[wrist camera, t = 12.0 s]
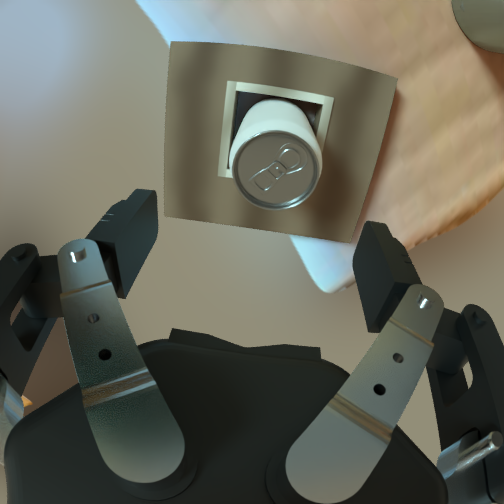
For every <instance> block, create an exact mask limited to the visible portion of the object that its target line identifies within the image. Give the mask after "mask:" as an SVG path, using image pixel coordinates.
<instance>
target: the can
mask: <svg viewBox="0 0 504 504" xmlns="http://www.w3.org/2000/svg"><path fill="white" fill-rule="evenodd" d="M229 167H230V172H231V175H232V178H233V181H234V183H235V186H236V188H237V190H238V191H239V193H240V194H241V195H242V196H243V197H244V198H245V199H246V200H247V201H248V202H250V203H251V204H253V205H255V206H257V207H259V208H262V209H266V210H273V211H279V210H286V209H290V208H293V207H295V206H298V205H299V204H301V203H303V202H304V201H305V200H306V199H307V198H308V197H309V196H310V195H311V194H312V193H313V191H314V190H315V188H316V185H317V183H318V180H319V177H320V175H321V171H322V154H321V150H320V147H319V144H318V142H317V139H316V137H315V135H314V132H313V130H312V128H311V126H310V124H309V121H308V119H307V117H306V115H305V114H304V112H303V111H302V110H301V109H300V108H299V107H298V106H297V105H295V104H294V103H292V102H290V101H288V100H286V99H282V98H268V99H264V100H262V101H260V102H258V103H256V104H255V105H253V106H252V107H251V108H250V109H249V111H248V112H247V114H246V115H245V117H244V119H243V121H242V123H241V126H240V128H239V130H238V132H237V135H236V137H235V139H234V142H233V144H232V147H231V151H230V156H229Z"/></svg>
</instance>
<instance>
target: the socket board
mask: <svg viewBox="0 0 504 504" xmlns="http://www.w3.org/2000/svg"><path fill="white" fill-rule="evenodd" d="M397 80H398V78H395V77H392V76H389V75H386V74H382V73H379V72H376V71H372V70H369V69H366V68H362V67H358V66H355V65H351V64H347V63H343V62H339V61H335V60H330V59H326V58H321V57H317V56H312V55H307V54H302V53H296V52H290V51H284V50H278V49H271V48H264V47H256V46H247V45H237V44H225V43H210V42H177V41H171V45H170V56H169V67H168V81H167V96H166V115H165V116H166V117H165V143H164V215H165V217H173V218H181V219H188V220H196V221H203V222H210V223H217V224H224V225H232V226H239V227H246V228H253V229H259V230H266V231H273V232H280V233H286V234H293V235H299V236H306V237H312V238H319V239H325V240H331V241H338V242H344V243H350V242H351V239H352V236H353V233H354V230H355V227H356V224H357V221H358V218H359V215H360V212H361V209H362V206H363V203H364V200H365V197H366V194H367V191H368V188H369V184H370V181H371V178H372V175H373V171H374V168H375V165H376V161H377V158H378V154H379V151H380V147H381V144H382V140H383V136H384V133H385V129H386V125H387V121H388V118H389V114H390V110H391V106H392V102H393V97H394V93H395V89H396V85H397ZM239 91H244V92H252V93H260V94H267V95H274V96H280V97H286V98H292V99H298V100H303V101H308V102H313V103H318V105H317V110H316V115H315V120H314V125H313V132H314V135H315V137H316V139H317V142H318V144H319V147H320V150H321V154H322V171H321V175H320V177H319V180H318V183H317V185H316V188H315V190H314V191H313V193H312V194H311V195H310V196H309V197H308V198H307V199H306V200H305V201H304V202H303V203H301V204H299V205H298V206H295V207H293V208H290V209H286V210H279V211H273V210H266V209H262V208H259V207H257V206H255V205H253V204H251V203H250V202H248V201H247V200H246V199H245V198H244V197H243V196H242V195H241V194H240V193H239V191H238V190H237V188H236V186H235V183H234V181H233V178H232V175H231V172H230V167H229V156H230V151H231V147H232V144H233V136H234V128H235V119H236V111H237V103H238V95H239Z"/></svg>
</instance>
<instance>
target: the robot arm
mask: <svg viewBox="0 0 504 504" xmlns="http://www.w3.org/2000/svg"><path fill="white" fill-rule="evenodd" d="M452 7H453V11H454V14H455V17H456V20H457V22H458V24H459V26H460V27H461V29H462V30H463V32H464V33H465V35H466V36H467V37H468V38H469V39H470V40H471V41H472V42H473V43H475V44H476V45H477V46H479V47H480V48H482V49H484V50H487V51H491V52H497V53H502V54H504V0H452ZM157 234H158V211H157V195H156V192H155V190H145V189H136V190H135V191H134V192H133V193H132V194H131V195H130V196H129V197H128V199H127V200H121V201H120V202H118V203H116V204H114V205H113V206H112V207H111V208H110V209H109V210H108V211H107V212H106V215H104V216H103V217H102V218H101V221H99V222H98V223H97V224H96V225H95V227H94V228H93V229H92V230H91V231H90V233H89V234H88V235H87V237H86V238H85V239H76V240H73V241H70V242H68V243H66V244H65V245H64V246H63V247H61V248H60V250H59V252H58V254H57V255H49V256H39V253H38V250H37V248H36V246H35V245H33V244H29V243H25V244H20V245H17V246H15V247H13V248H11V249H10V250H9V251H8V252H7V253H6V254H5V255H4V256H3V257H2V259H1V260H0V464H1V465H3V466H4V468H5V474H6V482H7V504H504V345H503V343H502V341H501V339H500V336H499V334H498V331H497V329H496V327H495V325H494V322H493V320H492V318H491V317H490V315H489V314H488V313H487V312H486V311H485V310H484V309H482V308H481V307H479V306H477V305H474V304H468V305H467V306H465V307H464V309H463V311H462V312H461V314H460V313H457V312H454V311H452V310H449V309H446V308H444V303H443V300H442V299H441V297H440V296H439V294H438V293H437V292H435V291H434V290H433V289H431V288H429V287H428V286H425V285H423V284H422V282H421V280H420V278H419V276H418V274H417V272H416V269H415V267H414V265H413V264H412V261H411V259H410V257H408V256H409V255H408V253H407V251H406V249H405V247H404V246H403V245H402V244H401V243H400V242H399V241H398V240H397V239H396V238H393V237H392V235H391V233H390V231H389V229H388V227H387V225H386V224H384V223H379V222H374V221H366V223H365V224H364V227H363V230H362V233H361V236H360V238H359V241H358V244H357V247H356V250H355V253H354V256H353V271H354V275H355V279H356V283H357V286H358V291H359V295H360V299H361V302H362V307H363V311H364V315H365V320H366V324H367V329H368V332H371V333H380V334H379V335H378V337H377V338H376V340H375V341H374V343H373V344H372V346H371V347H370V349H369V350H368V351H367V353H366V354H365V356H364V357H363V359H362V360H361V361H360V363H359V364H358V366H357V367H356V368H355V370H354V371H353V372H352V374H351V375H350V374H349V373H348V372H346V371H345V370H344V369H342V368H341V367H339V366H337V365H335V364H333V363H331V362H329V361H326V360H324V359H321V352H320V347H308V346H298V345H288V344H282V345H272V346H261V347H248V348H247V347H242V346H239V345H236V344H233V343H231V342H228V341H225V340H222V339H219V338H217V337H214V336H211V335H209V334H204V333H197V332H192V331H186V330H180V329H174V328H172V330H171V333H170V336H169V339H160V340H154V341H150V342H146V343H143V344H140V345H138V346H137V345H136V342H135V340H134V338H133V335H132V333H131V331H130V328H129V326H128V323H127V321H126V319H125V316H124V314H123V311H122V309H121V306H120V303H119V301H118V298H122V299H126V297H127V295H128V292H129V291H130V289H131V287H132V285H133V283H134V281H135V279H136V277H137V275H138V273H139V271H140V269H141V267H142V265H143V264H144V262H145V260H146V258H147V256H148V254H149V252H150V250H151V249H152V247H153V245H154V243H155V241H156V238H157ZM18 301H20V303H21V306H22V309H21V310H20V312H19V314H18V315H17V317H16V319H15V320H14V322H13V324H12V326H11V325H10V317H11V313H12V311H13V310H14V308H15V306H16V304H17V303H18ZM58 317H63V318H64V323H65V328H66V333H67V337H68V342H69V346H70V350H71V355H72V358H73V362H74V366H75V370H76V373H77V377H78V381H79V383H77V384H76V385H74V386H72V387H71V388H69V389H68V390H66V391H65V392H63V393H62V394H60V395H58V396H57V397H55V398H54V399H52V400H50V401H49V402H48V403H46V404H44V405H42V406H41V407H39V408H38V409H36V410H35V411H33V412H31V413H30V414H28V415H27V416H25V417H24V416H23V412H24V405H23V401H22V398H21V396H22V393H23V391H24V389H25V386H26V384H27V382H28V379H29V377H30V374H31V372H32V370H33V368H34V366H35V363H36V361H37V359H38V357H39V354H40V352H41V350H42V348H43V346H44V344H45V342H46V340H47V338H48V336H49V334H50V332H51V330H52V328H53V326H54V324H55V322H56V320H57V318H58ZM468 361H469V364H470V367H471V370H472V374H473V381H472V385H471V387H470V388H469V389H468V385H467V382H466V378H465V375H464V371H463V367H464V365H465V364H466V363H467V362H468ZM425 366H426V369H427V373H428V378H429V382H430V387H431V392H432V397H433V402H434V407H435V413H436V419H437V424H438V431H439V438H440V445H441V454H440V455H439V457H438V460H437V467H436V466H435V465H434V464H433V463H432V462H431V461H430V460H429V459H428V458H427V457H426V455H425V454H424V453H423V452H422V451H421V450H420V449H419V448H418V447H417V446H416V445H415V444H414V442H413V441H412V440H411V439H410V438H409V437H408V436H407V435H406V434H405V433H404V432H403V431H402V430H401V428H400V427H399V426H398V425H397V422H398V421H399V419H400V417H401V415H402V413H403V411H404V409H405V407H406V405H407V404H408V402H409V399H410V397H411V396H412V394H413V391H414V390H415V387H416V385H417V383H418V381H419V379H420V377H421V375H422V372H423V370H424V368H425Z"/></svg>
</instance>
